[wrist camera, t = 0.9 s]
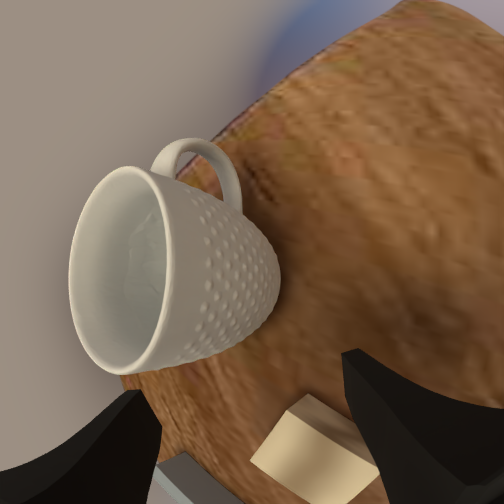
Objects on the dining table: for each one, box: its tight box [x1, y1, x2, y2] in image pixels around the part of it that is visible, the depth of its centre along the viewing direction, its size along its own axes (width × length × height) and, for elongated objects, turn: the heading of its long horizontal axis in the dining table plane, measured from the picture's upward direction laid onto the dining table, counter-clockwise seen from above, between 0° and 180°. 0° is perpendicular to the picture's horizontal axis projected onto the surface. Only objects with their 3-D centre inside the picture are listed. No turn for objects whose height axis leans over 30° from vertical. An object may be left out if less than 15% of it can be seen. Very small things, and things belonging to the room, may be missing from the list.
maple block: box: [250, 394, 380, 504], centre depth 17 cm, size 8×6×4 cm
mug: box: [69, 138, 281, 375], centre depth 19 cm, size 15×11×13 cm
